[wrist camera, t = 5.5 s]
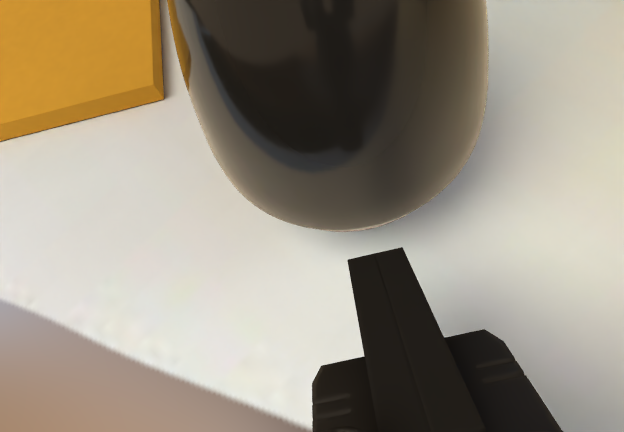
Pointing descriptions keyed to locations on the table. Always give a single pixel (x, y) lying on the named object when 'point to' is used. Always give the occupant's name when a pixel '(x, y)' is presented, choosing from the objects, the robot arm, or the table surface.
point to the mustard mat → (76, 61)
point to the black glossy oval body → (336, 100)
